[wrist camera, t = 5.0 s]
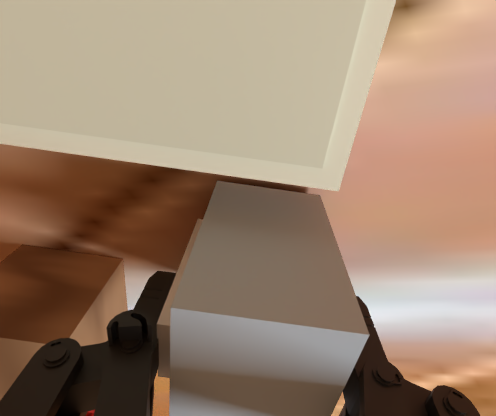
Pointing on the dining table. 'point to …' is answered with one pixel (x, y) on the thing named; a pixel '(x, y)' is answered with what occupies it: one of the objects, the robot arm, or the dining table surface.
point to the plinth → (193, 82)
